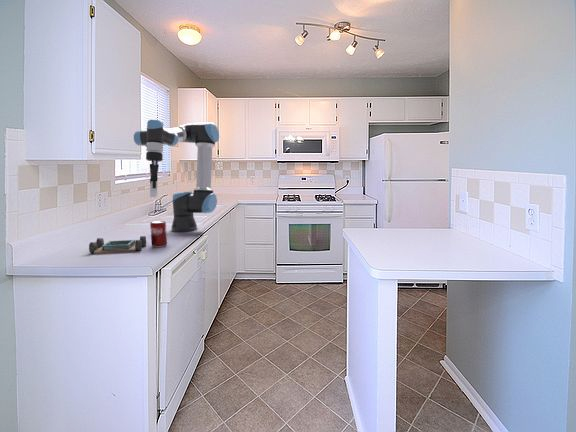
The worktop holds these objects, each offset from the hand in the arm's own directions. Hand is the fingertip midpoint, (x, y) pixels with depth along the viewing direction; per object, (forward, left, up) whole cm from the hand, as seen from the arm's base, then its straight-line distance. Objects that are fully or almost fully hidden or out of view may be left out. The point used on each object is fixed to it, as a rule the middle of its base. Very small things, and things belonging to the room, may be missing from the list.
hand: (153, 196), depth 189 cm
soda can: (0, +1, -25) cm, 25 cm away
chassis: (+3, -17, -25) cm, 30 cm away
